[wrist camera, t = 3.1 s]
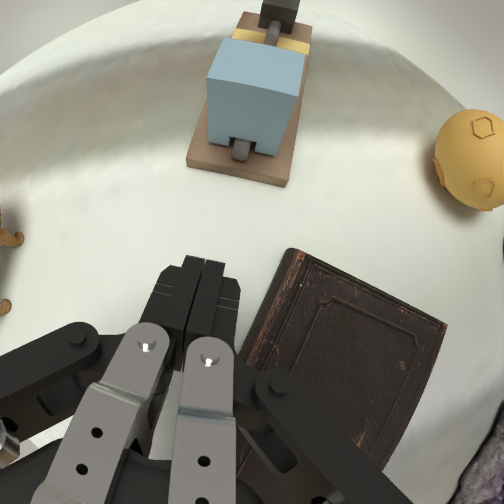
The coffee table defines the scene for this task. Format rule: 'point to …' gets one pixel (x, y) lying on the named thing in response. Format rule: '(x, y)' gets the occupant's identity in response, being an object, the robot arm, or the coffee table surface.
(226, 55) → the pale blue squarish block
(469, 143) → the stress ball
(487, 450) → the geode
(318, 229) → the coffee table surface
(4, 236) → the lion figurine
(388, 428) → the hardcover book
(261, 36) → the rail
